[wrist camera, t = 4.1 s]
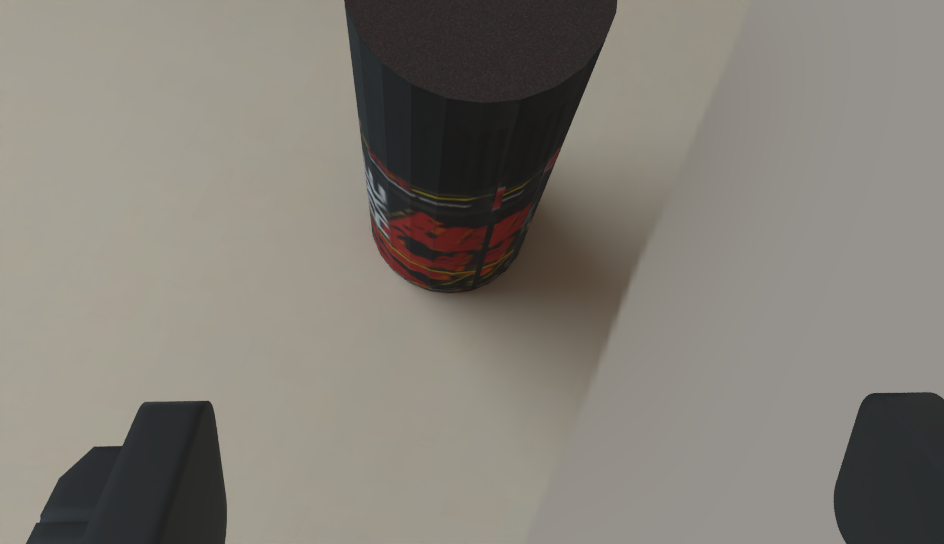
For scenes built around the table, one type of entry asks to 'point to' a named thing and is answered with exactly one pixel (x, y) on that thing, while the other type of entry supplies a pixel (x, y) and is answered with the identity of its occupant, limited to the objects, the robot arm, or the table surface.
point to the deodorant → (465, 123)
